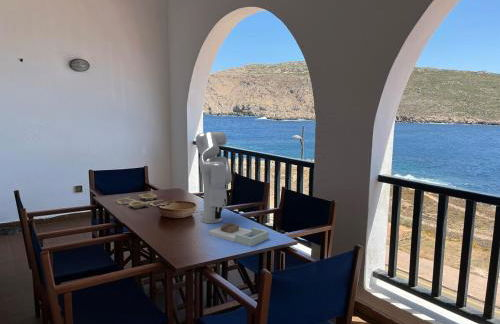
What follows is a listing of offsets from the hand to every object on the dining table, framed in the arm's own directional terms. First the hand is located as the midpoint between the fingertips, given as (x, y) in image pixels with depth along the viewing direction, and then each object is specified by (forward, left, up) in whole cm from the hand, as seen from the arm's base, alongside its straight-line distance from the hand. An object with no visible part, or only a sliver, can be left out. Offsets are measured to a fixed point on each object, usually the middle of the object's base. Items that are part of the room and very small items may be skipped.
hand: (218, 218), depth 207 cm
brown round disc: (+8, +1, -5) cm, 10 cm away
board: (+9, +1, -7) cm, 12 cm away
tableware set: (-83, +12, -8) cm, 84 cm away
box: (+23, +1, -7) cm, 24 cm away
